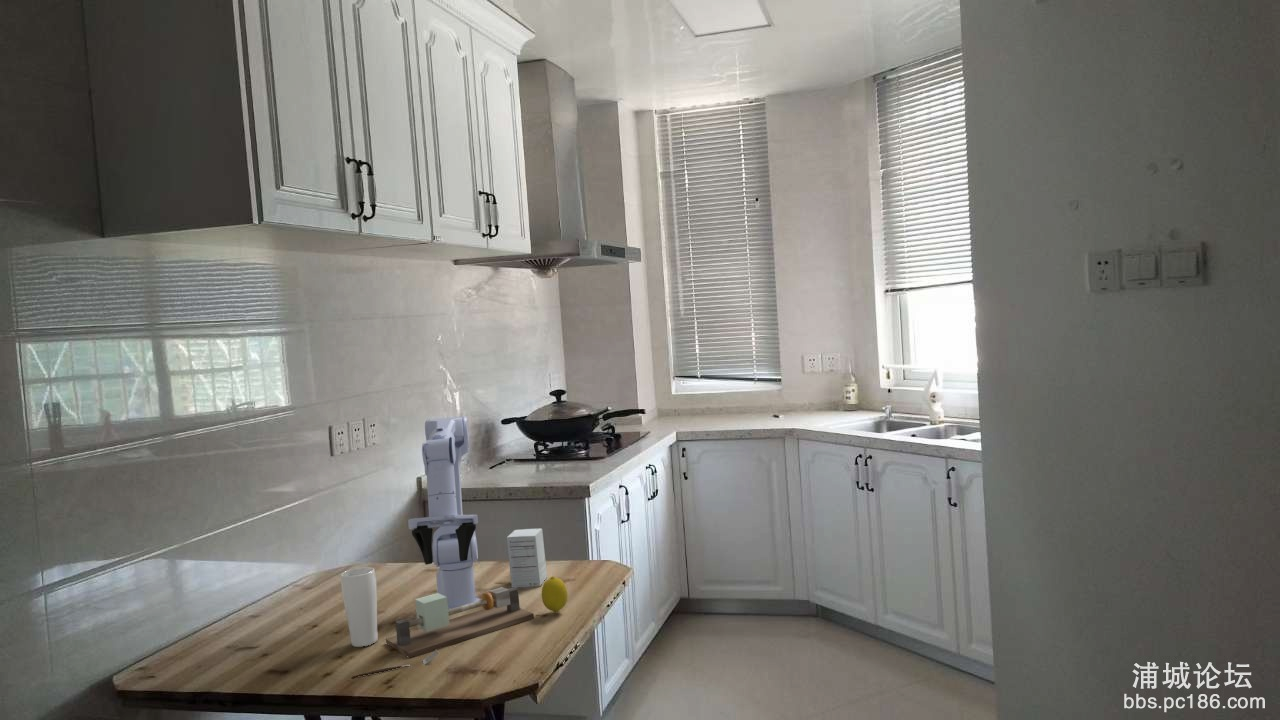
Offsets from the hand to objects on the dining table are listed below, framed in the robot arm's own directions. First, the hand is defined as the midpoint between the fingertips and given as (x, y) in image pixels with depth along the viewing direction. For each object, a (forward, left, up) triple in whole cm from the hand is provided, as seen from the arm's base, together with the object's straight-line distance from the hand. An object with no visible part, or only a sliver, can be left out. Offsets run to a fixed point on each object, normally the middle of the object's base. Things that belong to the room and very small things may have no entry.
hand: (446, 562), depth 174 cm
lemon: (+4, +22, -16) cm, 27 cm away
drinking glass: (-13, -14, -16) cm, 25 cm away
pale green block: (-3, -3, -13) cm, 14 cm away
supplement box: (-21, +30, -16) cm, 40 cm away
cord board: (-3, +3, -16) cm, 16 cm away
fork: (+6, -15, -16) cm, 23 cm away
